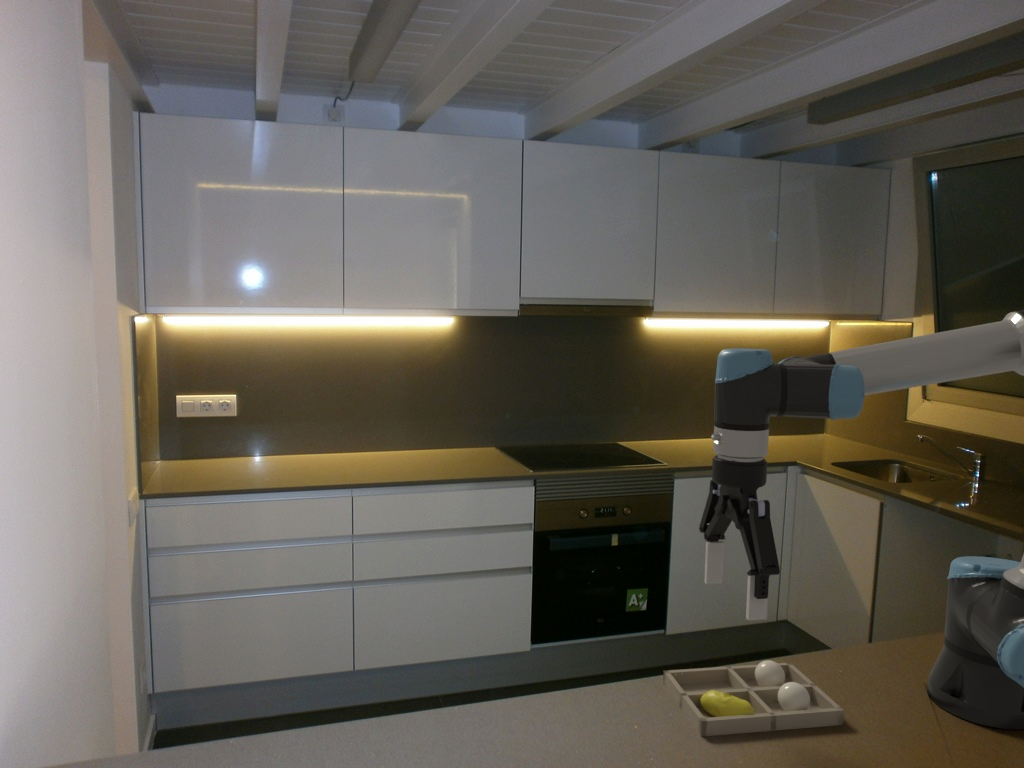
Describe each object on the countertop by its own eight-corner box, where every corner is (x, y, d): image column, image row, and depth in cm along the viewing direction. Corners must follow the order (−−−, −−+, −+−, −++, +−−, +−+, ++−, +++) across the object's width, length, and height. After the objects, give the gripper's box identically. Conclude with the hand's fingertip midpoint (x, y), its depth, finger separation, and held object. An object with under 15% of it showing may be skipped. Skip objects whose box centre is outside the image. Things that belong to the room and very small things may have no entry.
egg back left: (809, 708, 114) (810, 679, 114) (809, 723, 110) (811, 694, 110) (777, 702, 116) (778, 674, 115) (776, 717, 112) (778, 687, 111)
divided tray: (789, 678, 125) (790, 662, 125) (842, 728, 110) (843, 710, 110) (662, 687, 121) (663, 670, 121) (700, 740, 106) (701, 721, 106)
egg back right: (784, 685, 121) (786, 658, 121) (784, 699, 117) (785, 670, 116) (754, 680, 123) (756, 653, 122) (753, 693, 119) (754, 665, 118)
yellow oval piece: (706, 703, 115) (707, 679, 115) (758, 722, 110) (759, 696, 110) (695, 715, 112) (696, 690, 111) (747, 734, 107) (748, 708, 107)
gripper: (681, 441, 119) (676, 571, 121) (757, 476, 95) (750, 638, 97) (725, 440, 120) (720, 569, 122) (812, 475, 96) (804, 635, 98)
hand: (733, 600), depth 110 cm, fingers open, 13 cm apart
